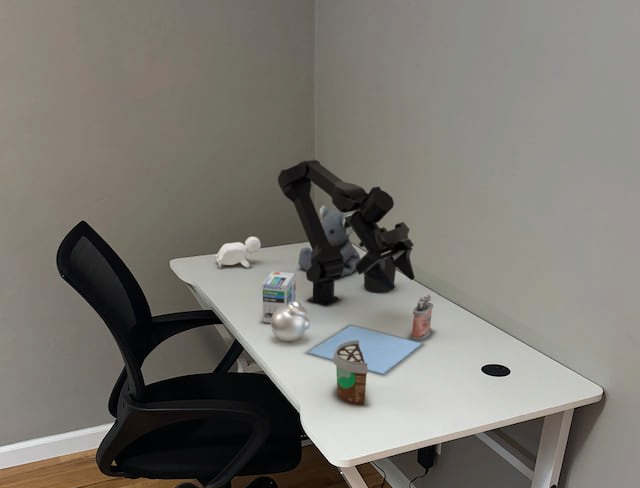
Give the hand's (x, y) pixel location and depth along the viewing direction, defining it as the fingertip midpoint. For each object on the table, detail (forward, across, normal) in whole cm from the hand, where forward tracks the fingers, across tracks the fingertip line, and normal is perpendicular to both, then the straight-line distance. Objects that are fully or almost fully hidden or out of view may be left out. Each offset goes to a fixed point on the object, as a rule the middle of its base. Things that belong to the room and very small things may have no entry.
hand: (403, 283), depth 173 cm
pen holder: (-6, +23, +24) cm, 34 cm away
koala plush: (-21, +28, +38) cm, 52 cm away
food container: (+16, -37, +2) cm, 41 cm away
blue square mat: (+9, -16, +9) cm, 20 cm away
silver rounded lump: (-4, -23, +21) cm, 32 cm away
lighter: (+13, 0, +5) cm, 14 cm away
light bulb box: (-12, -13, +30) cm, 35 cm away
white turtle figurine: (-40, +12, +57) cm, 71 cm away
